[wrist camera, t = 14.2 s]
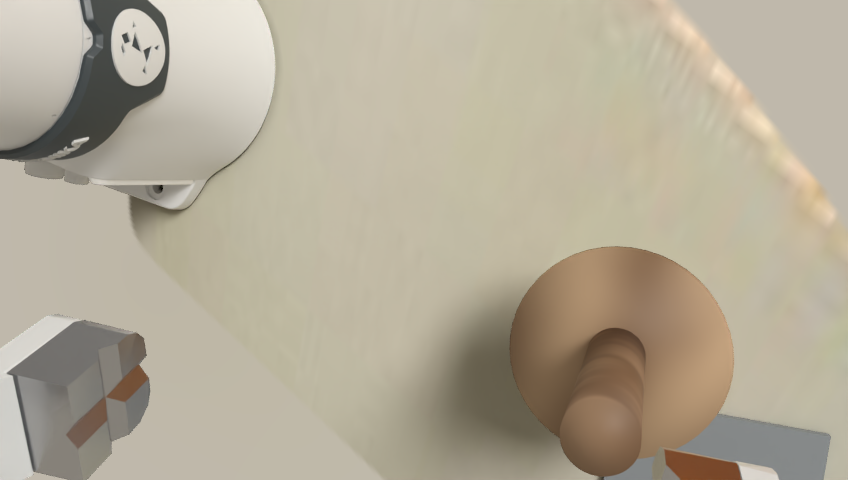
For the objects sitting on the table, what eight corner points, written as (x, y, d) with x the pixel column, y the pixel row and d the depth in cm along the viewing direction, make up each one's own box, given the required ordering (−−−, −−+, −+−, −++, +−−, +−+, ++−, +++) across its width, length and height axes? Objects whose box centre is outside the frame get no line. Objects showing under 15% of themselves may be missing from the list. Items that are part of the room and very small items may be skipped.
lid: (501, 429, 35) (439, 538, 25) (524, 233, 33) (467, 266, 23) (714, 475, 32) (740, 621, 22) (749, 262, 30) (794, 315, 20)
